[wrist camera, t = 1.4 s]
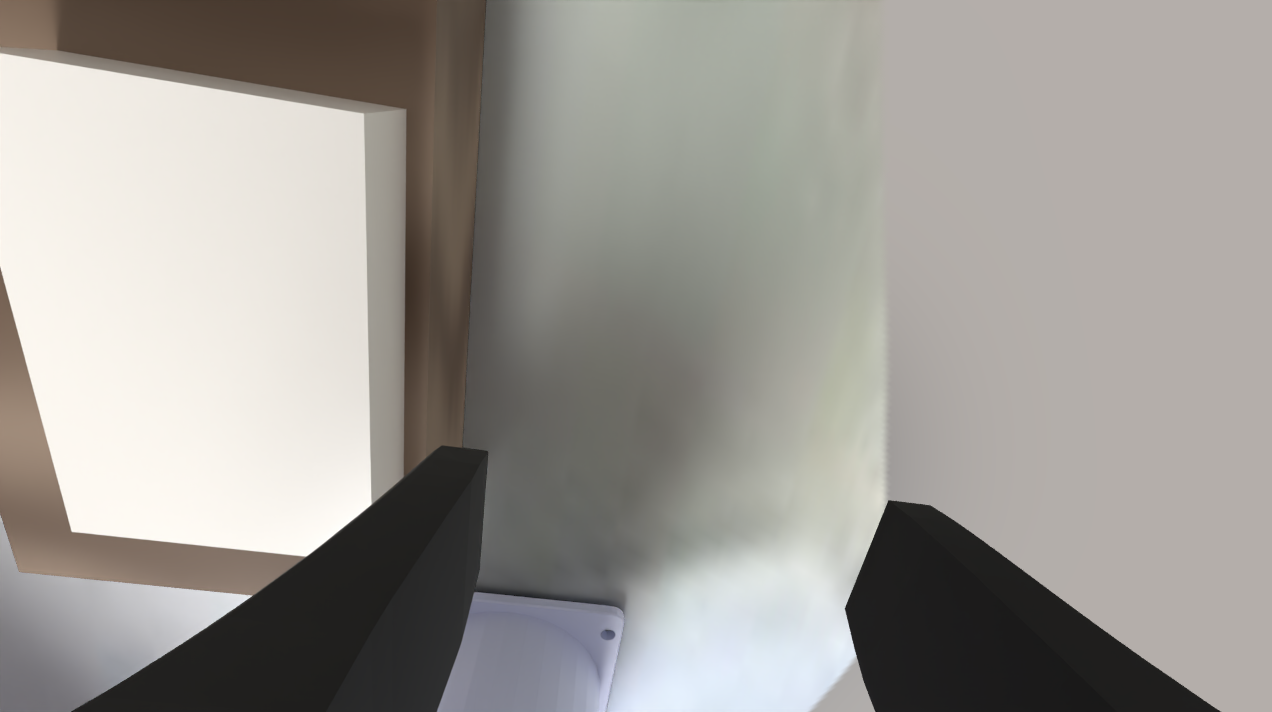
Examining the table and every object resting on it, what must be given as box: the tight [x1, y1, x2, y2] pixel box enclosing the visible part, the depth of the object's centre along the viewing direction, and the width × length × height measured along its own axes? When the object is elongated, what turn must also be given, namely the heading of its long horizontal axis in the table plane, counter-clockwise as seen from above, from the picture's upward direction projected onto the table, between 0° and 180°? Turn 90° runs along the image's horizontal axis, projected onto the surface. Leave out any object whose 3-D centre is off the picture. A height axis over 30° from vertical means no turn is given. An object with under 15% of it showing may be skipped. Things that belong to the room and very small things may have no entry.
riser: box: [0, 0, 486, 595], centre depth 14 cm, size 16×10×4 cm, turn 171°
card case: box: [0, 47, 406, 557], centre depth 12 cm, size 9×6×2 cm, turn 171°
